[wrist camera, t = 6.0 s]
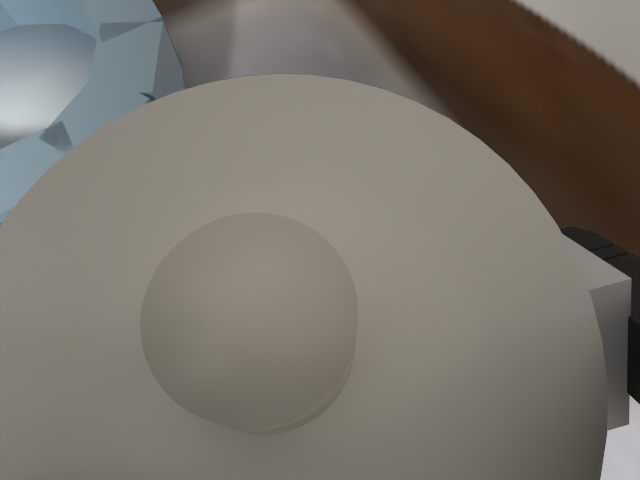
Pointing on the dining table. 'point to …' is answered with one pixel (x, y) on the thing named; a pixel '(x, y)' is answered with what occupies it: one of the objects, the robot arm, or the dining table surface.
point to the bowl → (73, 78)
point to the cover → (293, 300)
